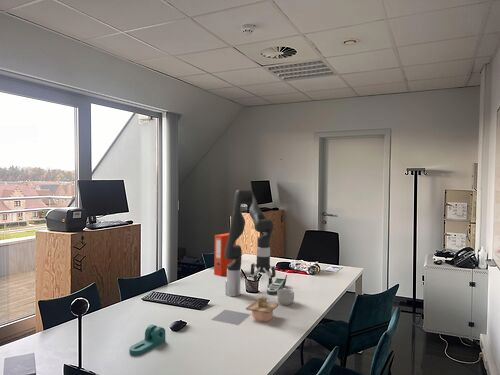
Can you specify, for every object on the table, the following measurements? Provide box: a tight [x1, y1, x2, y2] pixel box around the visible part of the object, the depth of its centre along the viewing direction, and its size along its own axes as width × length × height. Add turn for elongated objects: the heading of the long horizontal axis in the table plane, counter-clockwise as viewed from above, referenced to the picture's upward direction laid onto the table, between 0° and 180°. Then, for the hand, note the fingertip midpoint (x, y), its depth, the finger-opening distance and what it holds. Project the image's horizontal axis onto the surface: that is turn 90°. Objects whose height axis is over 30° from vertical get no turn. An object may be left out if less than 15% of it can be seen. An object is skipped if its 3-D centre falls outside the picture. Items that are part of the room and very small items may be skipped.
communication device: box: [266, 274, 288, 296], centre depth 260 cm, size 12×24×9 cm, turn 160°
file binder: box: [213, 232, 237, 277], centre depth 302 cm, size 8×17×32 cm, turn 142°
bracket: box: [128, 324, 166, 357], centre depth 172 cm, size 18×7×8 cm, turn 150°
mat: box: [210, 309, 252, 326], centre depth 208 cm, size 17×17×1 cm
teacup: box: [276, 287, 295, 306], centre depth 234 cm, size 14×11×8 cm
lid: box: [245, 295, 279, 314], centre depth 208 cm, size 14×14×6 cm
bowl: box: [251, 310, 274, 322], centre depth 208 cm, size 11×11×6 cm
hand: (262, 283), depth 208 cm, fingers open, 8 cm apart
